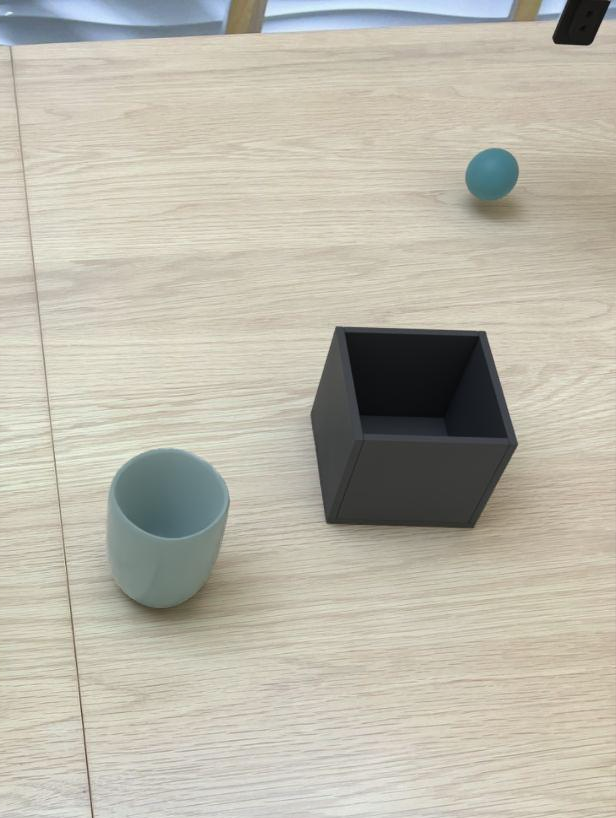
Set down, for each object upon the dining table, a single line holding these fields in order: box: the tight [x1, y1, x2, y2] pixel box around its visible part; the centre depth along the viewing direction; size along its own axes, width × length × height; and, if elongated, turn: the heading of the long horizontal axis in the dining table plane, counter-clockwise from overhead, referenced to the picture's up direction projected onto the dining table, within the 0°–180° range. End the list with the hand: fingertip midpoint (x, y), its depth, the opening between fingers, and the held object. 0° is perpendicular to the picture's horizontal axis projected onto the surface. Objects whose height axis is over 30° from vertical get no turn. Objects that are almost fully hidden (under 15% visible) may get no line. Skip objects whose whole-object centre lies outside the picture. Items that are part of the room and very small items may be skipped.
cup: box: [105, 447, 231, 609], centre depth 75 cm, size 8×8×10 cm
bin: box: [310, 325, 519, 529], centre depth 82 cm, size 11×11×10 cm
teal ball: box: [464, 147, 520, 202], centre depth 104 cm, size 5×5×5 cm
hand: (556, 10), depth 91 cm, fingers open, 9 cm apart
